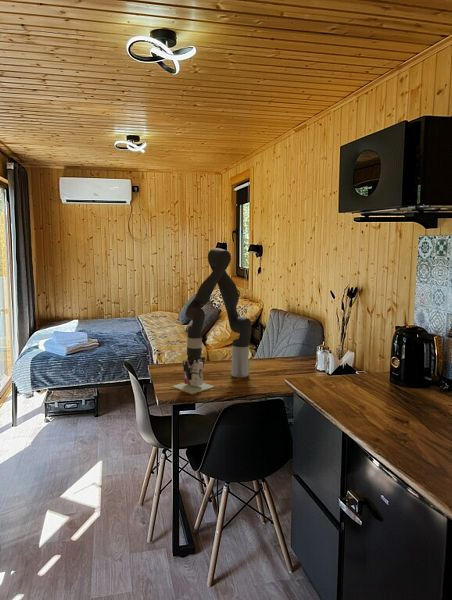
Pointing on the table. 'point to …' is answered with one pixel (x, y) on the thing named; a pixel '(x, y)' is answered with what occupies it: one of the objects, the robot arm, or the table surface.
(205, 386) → the mat
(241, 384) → the table surface
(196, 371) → the ink box
